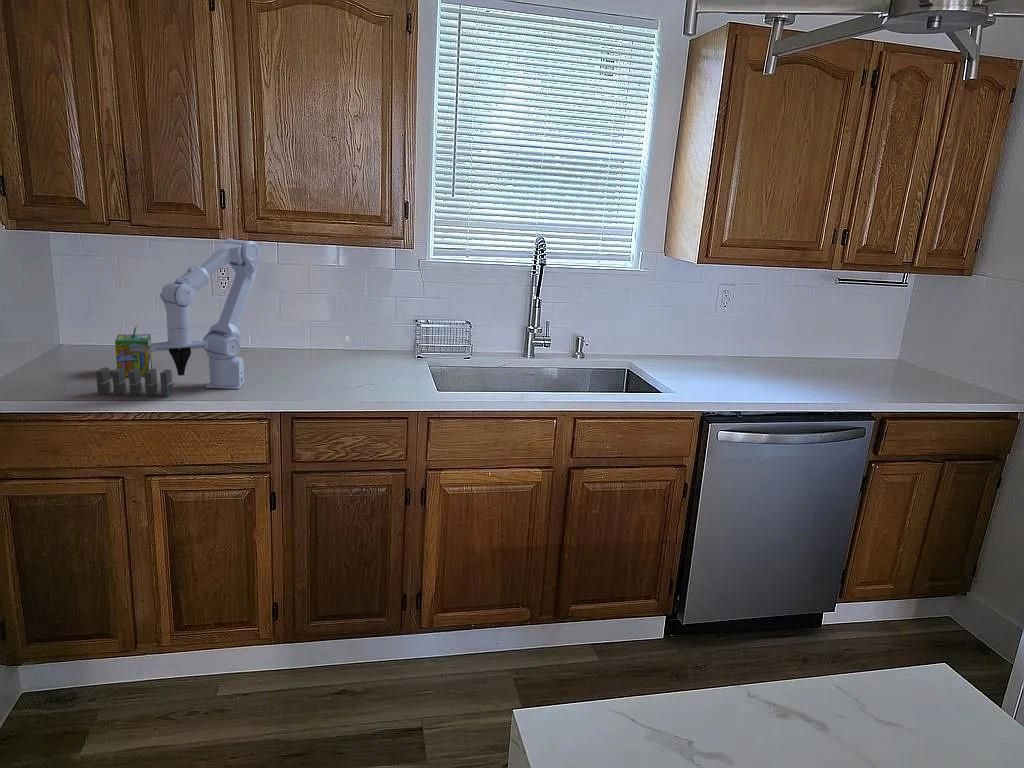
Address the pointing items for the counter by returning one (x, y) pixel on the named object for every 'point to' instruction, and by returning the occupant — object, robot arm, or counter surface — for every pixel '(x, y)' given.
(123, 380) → the domino
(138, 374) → the domino
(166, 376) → the domino
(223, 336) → the robot arm
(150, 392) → the domino
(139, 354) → the chalk box
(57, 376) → the counter surface
